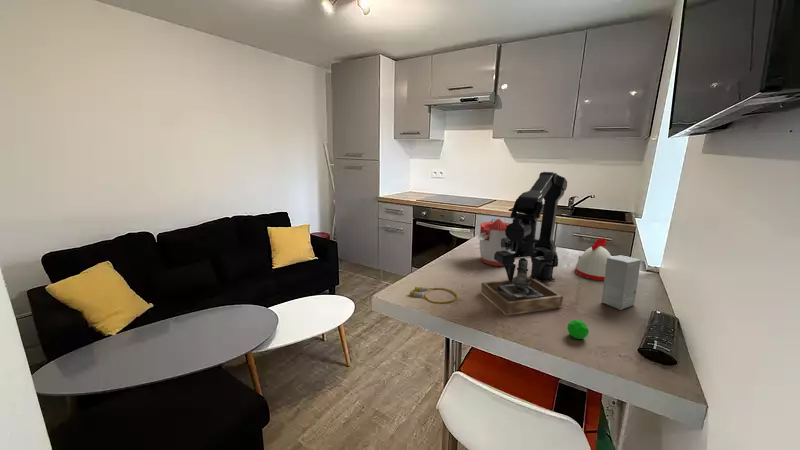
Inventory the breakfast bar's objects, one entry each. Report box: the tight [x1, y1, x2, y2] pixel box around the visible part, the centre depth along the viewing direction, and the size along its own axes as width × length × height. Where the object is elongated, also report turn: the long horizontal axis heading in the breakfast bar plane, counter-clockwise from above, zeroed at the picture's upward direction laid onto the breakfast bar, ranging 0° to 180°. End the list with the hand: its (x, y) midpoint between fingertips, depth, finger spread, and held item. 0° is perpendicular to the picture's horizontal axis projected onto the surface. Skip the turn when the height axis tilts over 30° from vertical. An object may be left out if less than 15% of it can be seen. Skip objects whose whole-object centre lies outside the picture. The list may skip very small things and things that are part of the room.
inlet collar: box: [498, 284, 544, 302], centre depth 108 cm, size 10×10×3 cm
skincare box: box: [601, 254, 642, 311], centre depth 104 cm, size 8×7×16 cm
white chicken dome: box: [574, 237, 612, 281], centre depth 130 cm, size 14×14×15 cm
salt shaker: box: [512, 258, 531, 294], centre depth 106 cm, size 6×6×12 cm
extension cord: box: [409, 286, 458, 304], centre depth 112 cm, size 12×16×2 cm
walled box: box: [480, 276, 564, 316], centre depth 108 cm, size 20×16×4 cm
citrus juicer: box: [477, 218, 515, 267], centre depth 142 cm, size 16×17×20 cm
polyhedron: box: [566, 319, 590, 340], centre depth 87 cm, size 5×5×5 cm
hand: (521, 280), depth 107 cm, fingers closed on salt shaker, 8 cm apart
